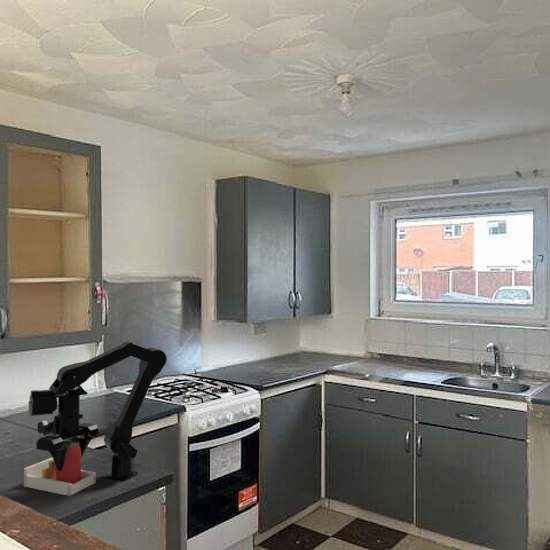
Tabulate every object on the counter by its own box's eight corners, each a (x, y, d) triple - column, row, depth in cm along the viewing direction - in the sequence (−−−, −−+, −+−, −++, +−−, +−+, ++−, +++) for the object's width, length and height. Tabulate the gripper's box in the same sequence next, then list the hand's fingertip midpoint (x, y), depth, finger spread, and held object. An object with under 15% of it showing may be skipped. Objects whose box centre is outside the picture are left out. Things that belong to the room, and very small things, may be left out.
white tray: (51, 474, 168) (52, 457, 168) (95, 482, 162) (96, 465, 162) (23, 486, 158) (24, 468, 158) (69, 495, 152) (69, 477, 152)
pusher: (62, 478, 165) (62, 456, 165) (65, 478, 165) (65, 456, 165) (41, 487, 158) (42, 464, 158) (44, 488, 157) (44, 464, 157)
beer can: (83, 481, 163) (84, 439, 163) (76, 490, 156) (77, 446, 156) (60, 481, 162) (60, 440, 162) (52, 490, 156) (52, 447, 156)
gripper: (70, 401, 171) (69, 453, 171) (21, 416, 154) (20, 473, 154) (99, 405, 167) (99, 458, 167) (52, 420, 149) (52, 479, 149)
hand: (68, 466), depth 159 cm, fingers closed on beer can, 7 cm apart
